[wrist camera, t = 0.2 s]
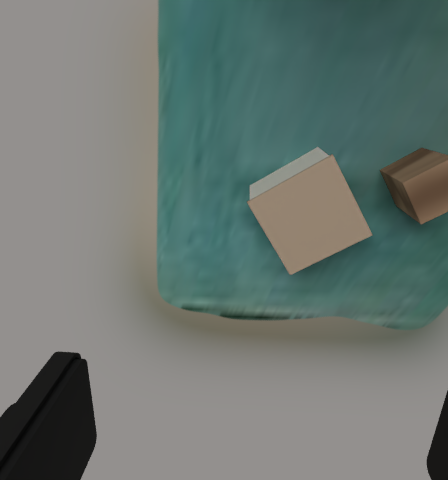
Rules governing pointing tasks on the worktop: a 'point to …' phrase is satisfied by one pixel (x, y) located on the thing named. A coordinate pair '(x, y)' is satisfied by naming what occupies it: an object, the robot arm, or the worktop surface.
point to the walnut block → (419, 184)
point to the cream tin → (307, 210)
